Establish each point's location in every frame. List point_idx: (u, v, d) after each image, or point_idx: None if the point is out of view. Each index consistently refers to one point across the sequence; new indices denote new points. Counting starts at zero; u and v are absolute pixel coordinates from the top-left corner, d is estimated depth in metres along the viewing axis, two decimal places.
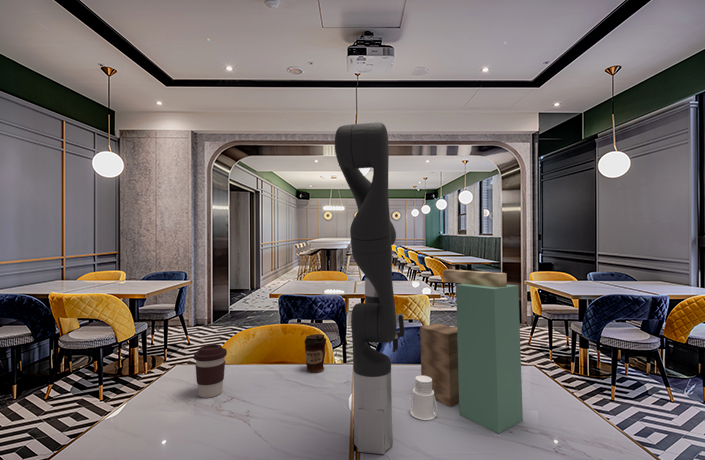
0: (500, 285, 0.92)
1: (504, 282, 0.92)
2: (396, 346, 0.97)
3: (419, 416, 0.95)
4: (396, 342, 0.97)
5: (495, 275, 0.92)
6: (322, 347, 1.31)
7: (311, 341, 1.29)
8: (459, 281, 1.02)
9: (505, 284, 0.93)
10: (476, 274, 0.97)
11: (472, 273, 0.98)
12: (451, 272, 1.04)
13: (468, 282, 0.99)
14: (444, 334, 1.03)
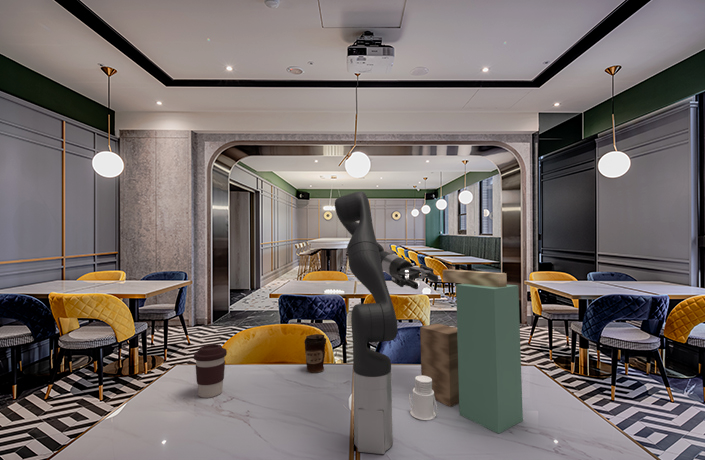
0: (500, 285, 0.92)
1: (504, 282, 0.92)
2: None
3: (419, 416, 0.95)
4: None
5: (495, 275, 0.92)
6: (322, 347, 1.31)
7: (311, 341, 1.29)
8: (459, 281, 1.02)
9: (505, 284, 0.93)
10: (476, 274, 0.97)
11: (472, 273, 0.98)
12: (451, 272, 1.04)
13: (468, 282, 0.99)
14: (444, 334, 1.03)
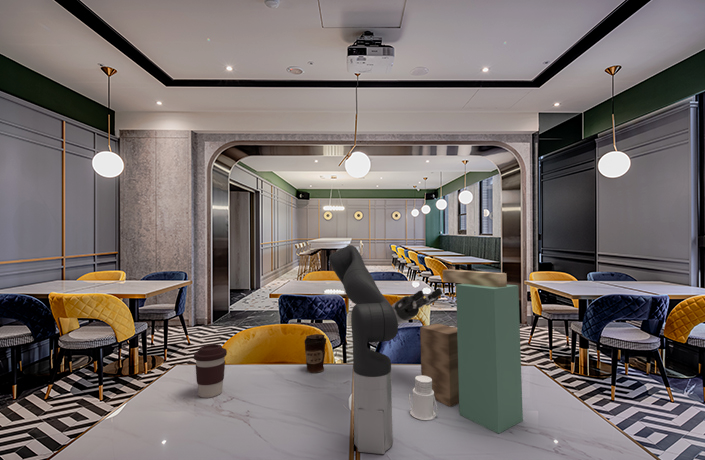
0: (500, 285, 0.92)
1: (504, 282, 0.92)
2: (418, 297, 1.11)
3: (419, 416, 0.95)
4: (416, 298, 1.12)
5: (495, 275, 0.92)
6: (322, 347, 1.31)
7: (311, 341, 1.29)
8: (459, 281, 1.02)
9: (505, 284, 0.93)
10: (476, 274, 0.97)
11: (472, 273, 0.98)
12: (451, 272, 1.04)
13: (468, 282, 0.99)
14: (444, 334, 1.03)
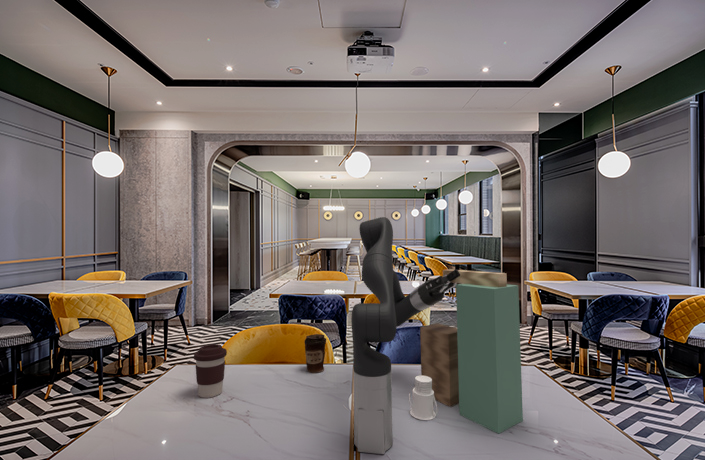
0: (500, 285, 0.92)
1: (504, 282, 0.92)
2: (454, 276, 1.02)
3: (419, 416, 0.95)
4: (451, 278, 1.03)
5: (495, 275, 0.92)
6: (322, 347, 1.31)
7: (311, 341, 1.29)
8: (459, 281, 1.02)
9: (505, 284, 0.93)
10: (476, 274, 0.97)
11: (472, 273, 0.98)
12: None
13: (468, 282, 0.99)
14: (444, 334, 1.03)
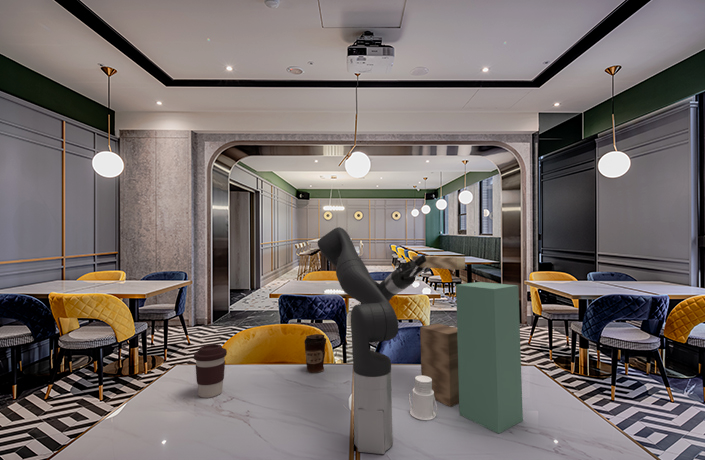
0: (458, 267, 1.03)
1: (462, 265, 1.04)
2: (421, 261, 1.14)
3: (419, 416, 0.95)
4: (419, 263, 1.14)
5: (454, 259, 1.03)
6: (322, 347, 1.31)
7: (311, 341, 1.29)
8: (425, 265, 1.13)
9: (464, 267, 1.04)
10: (439, 258, 1.08)
11: (436, 258, 1.09)
12: None
13: (433, 266, 1.10)
14: (444, 334, 1.03)
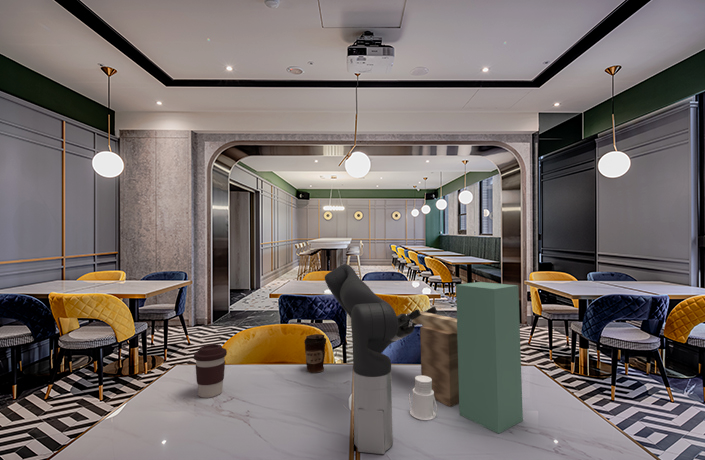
0: None
1: None
2: (415, 316, 1.13)
3: (419, 416, 0.95)
4: (413, 317, 1.14)
5: (454, 322, 1.03)
6: (322, 347, 1.31)
7: (311, 341, 1.29)
8: (425, 324, 1.13)
9: None
10: (439, 319, 1.08)
11: (435, 318, 1.09)
12: None
13: (432, 326, 1.10)
14: (444, 334, 1.03)
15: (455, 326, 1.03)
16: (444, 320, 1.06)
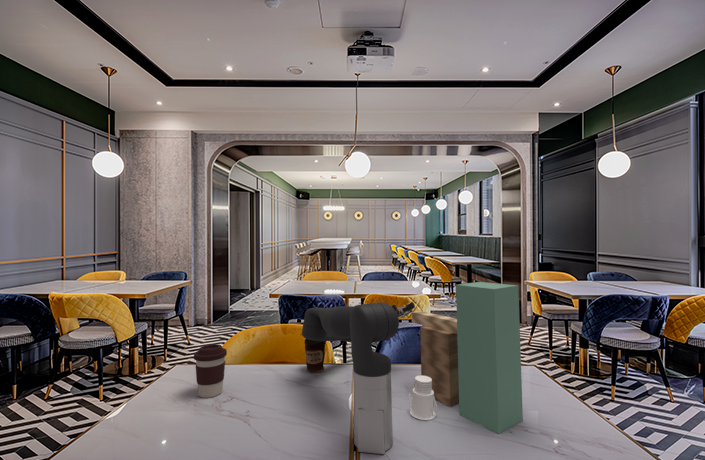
0: None
1: None
2: None
3: (419, 416, 0.95)
4: None
5: (454, 322, 1.03)
6: (322, 347, 1.31)
7: (311, 341, 1.29)
8: (425, 324, 1.13)
9: None
10: (439, 319, 1.08)
11: (435, 318, 1.09)
12: (418, 315, 1.15)
13: (432, 326, 1.10)
14: (444, 334, 1.03)
15: (455, 326, 1.03)
16: (444, 320, 1.06)
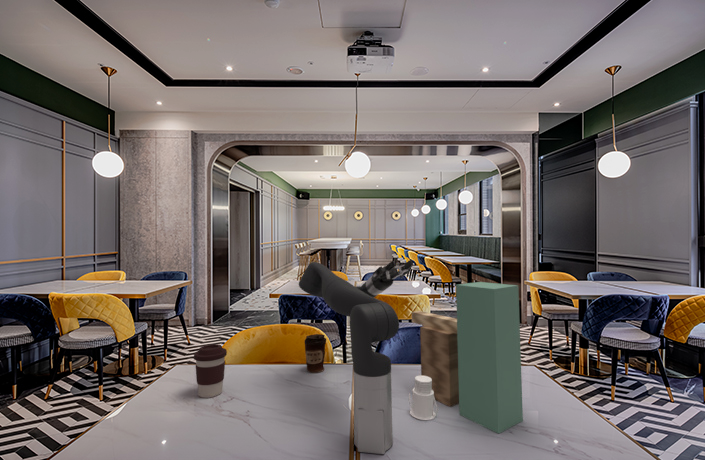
0: None
1: None
2: (391, 267, 1.22)
3: (419, 416, 0.95)
4: (389, 268, 1.23)
5: (454, 322, 1.03)
6: (322, 347, 1.31)
7: (311, 341, 1.29)
8: (425, 324, 1.13)
9: None
10: (439, 319, 1.08)
11: (435, 318, 1.09)
12: (418, 315, 1.15)
13: (432, 326, 1.10)
14: (444, 334, 1.03)
15: (455, 326, 1.03)
16: (444, 320, 1.06)
